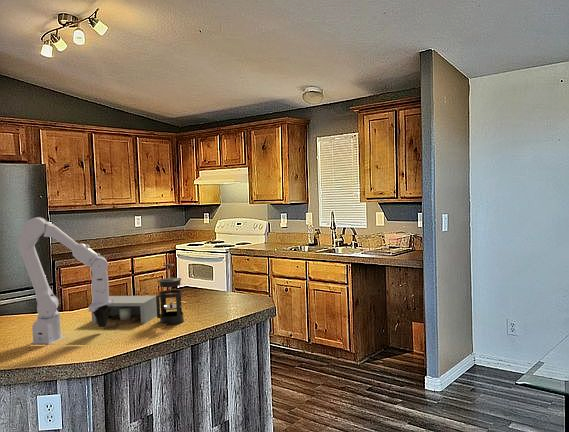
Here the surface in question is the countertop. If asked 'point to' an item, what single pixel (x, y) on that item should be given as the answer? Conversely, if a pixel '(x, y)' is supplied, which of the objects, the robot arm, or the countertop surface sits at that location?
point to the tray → (120, 321)
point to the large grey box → (133, 307)
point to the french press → (170, 316)
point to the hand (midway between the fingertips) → (102, 326)
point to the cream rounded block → (125, 313)
